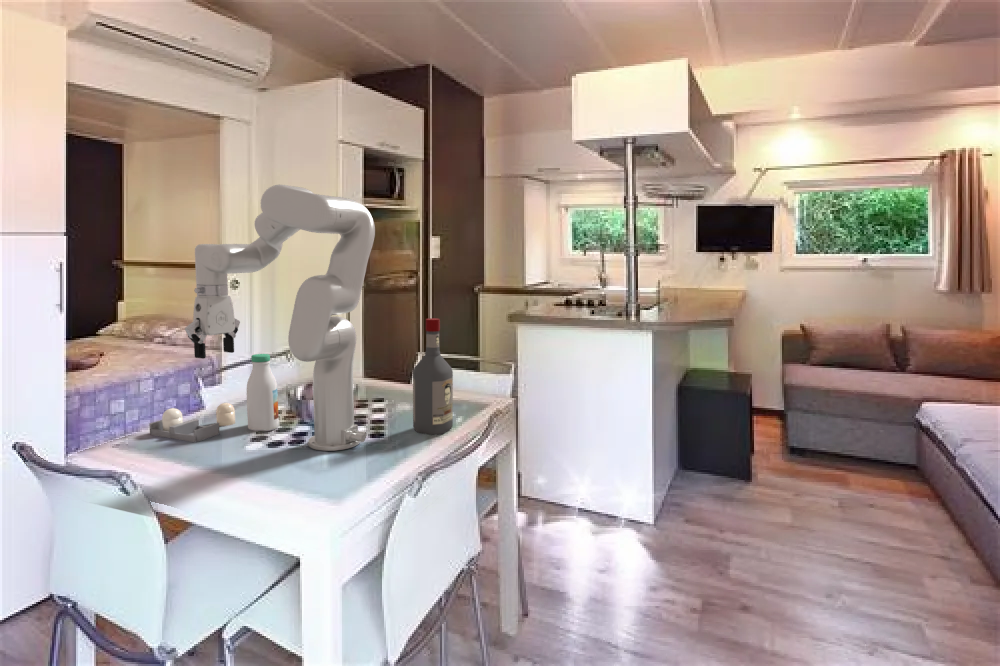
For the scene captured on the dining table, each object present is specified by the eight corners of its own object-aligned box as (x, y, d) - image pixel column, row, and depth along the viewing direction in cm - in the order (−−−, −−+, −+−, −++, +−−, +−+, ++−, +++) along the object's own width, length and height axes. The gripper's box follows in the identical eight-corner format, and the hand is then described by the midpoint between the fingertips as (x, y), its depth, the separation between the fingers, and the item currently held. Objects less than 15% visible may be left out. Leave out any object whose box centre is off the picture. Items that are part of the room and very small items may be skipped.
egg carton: (219, 436, 156) (219, 422, 156) (195, 444, 149) (195, 430, 149) (175, 428, 162) (174, 416, 161) (150, 436, 155) (149, 423, 154)
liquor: (409, 431, 162) (408, 319, 158) (427, 423, 170) (427, 316, 166) (438, 436, 158) (438, 322, 154) (456, 427, 166) (456, 318, 162)
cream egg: (187, 430, 158) (186, 407, 157) (172, 435, 154) (170, 411, 153) (174, 428, 160) (172, 405, 159) (158, 433, 155) (157, 409, 155)
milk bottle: (268, 433, 159) (265, 358, 156) (241, 431, 160) (238, 356, 158) (284, 425, 166) (281, 353, 164) (259, 423, 168) (256, 351, 165)
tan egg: (239, 424, 167) (238, 401, 166) (226, 428, 162) (225, 405, 162) (226, 422, 168) (225, 400, 167) (212, 426, 164) (211, 404, 163)
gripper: (196, 294, 152) (199, 361, 154) (247, 290, 168) (249, 351, 170) (173, 292, 154) (177, 359, 157) (226, 288, 170) (228, 349, 173)
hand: (214, 355), depth 163 cm, fingers open, 9 cm apart
